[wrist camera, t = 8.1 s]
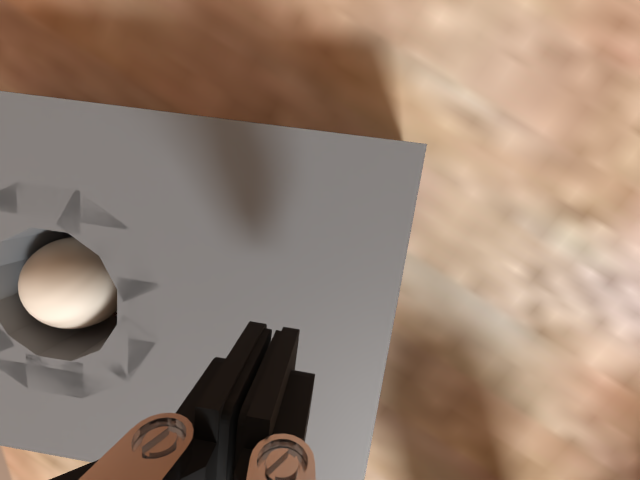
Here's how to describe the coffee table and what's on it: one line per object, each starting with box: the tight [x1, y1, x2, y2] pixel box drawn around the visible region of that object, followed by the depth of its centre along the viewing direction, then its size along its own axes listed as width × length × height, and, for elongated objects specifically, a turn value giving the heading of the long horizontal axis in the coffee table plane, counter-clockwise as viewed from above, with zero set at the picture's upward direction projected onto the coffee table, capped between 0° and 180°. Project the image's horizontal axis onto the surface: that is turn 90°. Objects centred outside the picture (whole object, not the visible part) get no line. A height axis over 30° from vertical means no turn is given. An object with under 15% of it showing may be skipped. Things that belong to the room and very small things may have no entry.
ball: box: [18, 237, 117, 329], centre depth 18 cm, size 5×5×5 cm
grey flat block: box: [0, 91, 427, 480], centre depth 18 cm, size 18×22×5 cm
